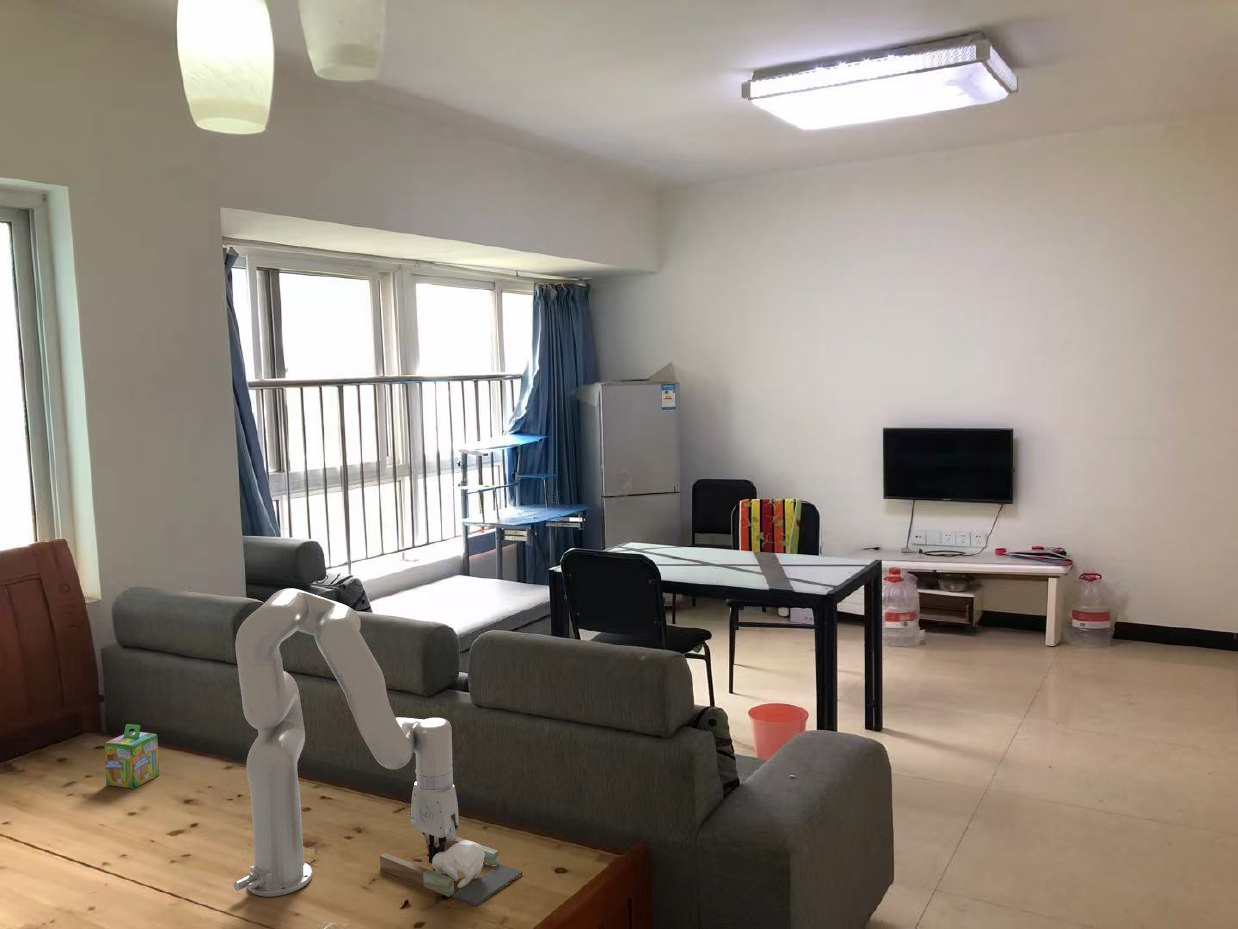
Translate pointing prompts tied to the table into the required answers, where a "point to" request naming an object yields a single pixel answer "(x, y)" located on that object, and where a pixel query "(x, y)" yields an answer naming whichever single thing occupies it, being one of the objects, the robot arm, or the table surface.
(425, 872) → the parallel bars
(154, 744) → the chalk box
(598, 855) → the table surface
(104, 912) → the table surface
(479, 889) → the mat
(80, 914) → the table surface
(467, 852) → the white figurine
